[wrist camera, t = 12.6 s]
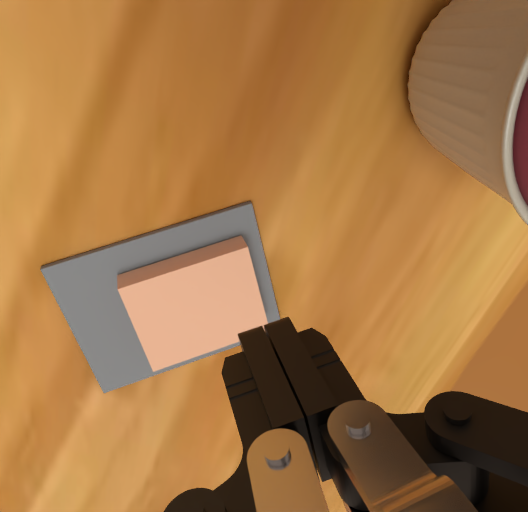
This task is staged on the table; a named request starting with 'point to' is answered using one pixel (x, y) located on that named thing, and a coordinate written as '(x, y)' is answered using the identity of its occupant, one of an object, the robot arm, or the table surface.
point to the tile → (193, 302)
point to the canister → (477, 92)
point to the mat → (130, 258)
